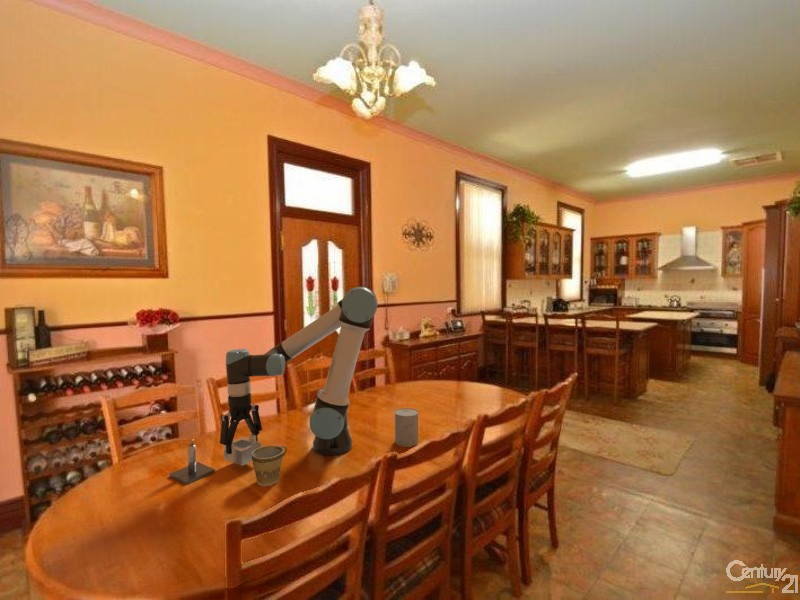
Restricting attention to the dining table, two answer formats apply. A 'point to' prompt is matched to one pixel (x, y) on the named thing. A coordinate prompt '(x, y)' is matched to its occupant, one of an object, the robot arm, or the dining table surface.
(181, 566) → the dining table surface
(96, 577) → the dining table surface
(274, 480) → the ceramic cup
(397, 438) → the gray cylinder
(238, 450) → the grey block with hole
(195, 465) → the keeper
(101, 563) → the dining table surface
